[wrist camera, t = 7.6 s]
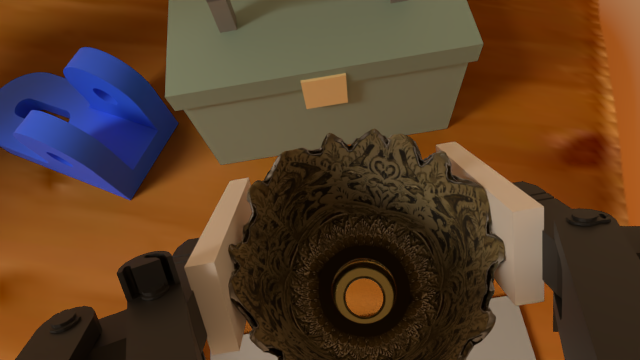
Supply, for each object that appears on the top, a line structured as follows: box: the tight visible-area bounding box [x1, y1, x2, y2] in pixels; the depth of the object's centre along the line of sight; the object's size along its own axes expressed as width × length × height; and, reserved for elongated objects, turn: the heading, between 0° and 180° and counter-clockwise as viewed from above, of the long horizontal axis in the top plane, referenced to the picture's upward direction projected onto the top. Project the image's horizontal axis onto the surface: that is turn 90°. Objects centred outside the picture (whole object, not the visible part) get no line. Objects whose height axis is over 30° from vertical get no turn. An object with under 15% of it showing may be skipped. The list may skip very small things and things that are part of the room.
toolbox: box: [165, 0, 483, 165], centre depth 33 cm, size 21×11×14 cm, turn 97°
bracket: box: [0, 47, 179, 200], centre depth 37 cm, size 18×8×9 cm, turn 68°
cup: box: [228, 128, 505, 360], centre depth 15 cm, size 8×7×8 cm
